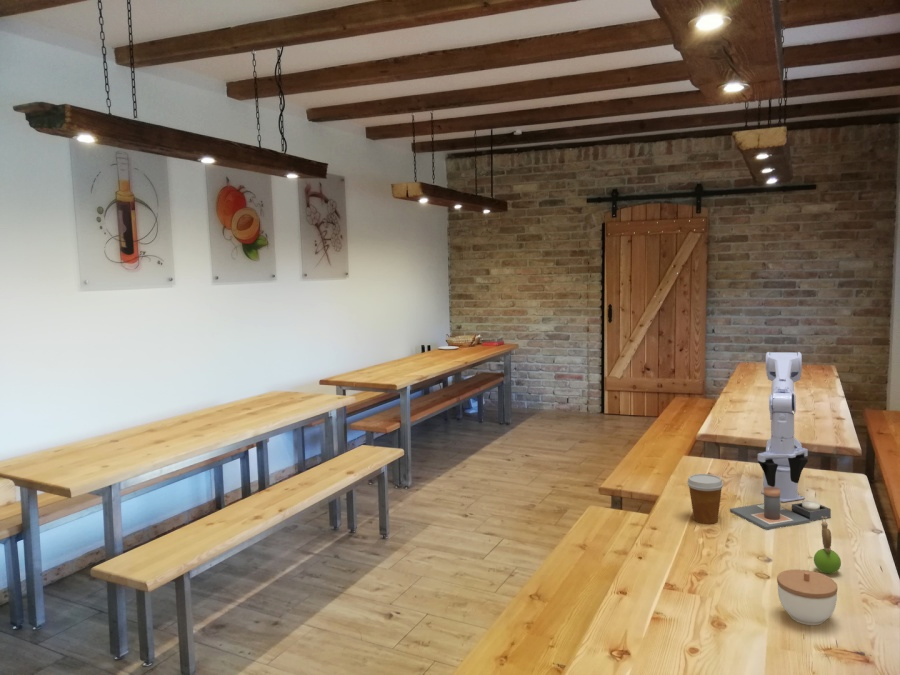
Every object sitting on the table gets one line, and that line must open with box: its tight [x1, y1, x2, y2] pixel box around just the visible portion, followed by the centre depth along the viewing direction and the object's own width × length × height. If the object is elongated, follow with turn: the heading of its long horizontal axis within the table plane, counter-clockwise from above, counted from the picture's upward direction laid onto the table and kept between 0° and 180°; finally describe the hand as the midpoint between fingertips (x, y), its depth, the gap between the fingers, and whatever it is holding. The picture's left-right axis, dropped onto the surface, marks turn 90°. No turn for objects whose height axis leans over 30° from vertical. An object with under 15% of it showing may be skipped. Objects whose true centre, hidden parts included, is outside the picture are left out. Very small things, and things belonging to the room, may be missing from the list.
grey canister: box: [762, 487, 781, 520], centre depth 185 cm, size 4×4×8 cm
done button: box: [801, 500, 821, 511], centre depth 187 cm, size 4×4×2 cm
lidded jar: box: [776, 569, 838, 626], centre depth 135 cm, size 11×11×9 cm
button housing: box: [791, 502, 832, 522], centre depth 188 cm, size 7×7×3 cm
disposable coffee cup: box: [686, 473, 724, 525], centre depth 188 cm, size 10×10×12 cm
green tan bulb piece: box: [813, 516, 842, 574], centre depth 154 cm, size 5×6×12 cm
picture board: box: [729, 502, 811, 531], centre depth 188 cm, size 15×14×1 cm
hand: (782, 483), depth 185 cm, fingers open, 7 cm apart
